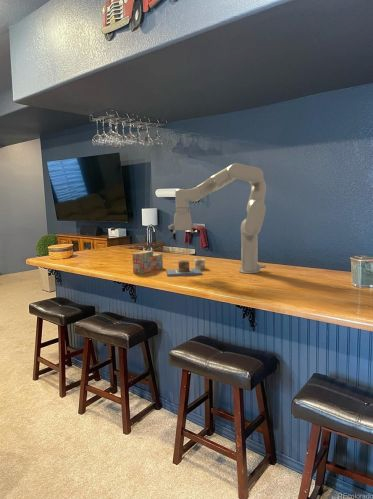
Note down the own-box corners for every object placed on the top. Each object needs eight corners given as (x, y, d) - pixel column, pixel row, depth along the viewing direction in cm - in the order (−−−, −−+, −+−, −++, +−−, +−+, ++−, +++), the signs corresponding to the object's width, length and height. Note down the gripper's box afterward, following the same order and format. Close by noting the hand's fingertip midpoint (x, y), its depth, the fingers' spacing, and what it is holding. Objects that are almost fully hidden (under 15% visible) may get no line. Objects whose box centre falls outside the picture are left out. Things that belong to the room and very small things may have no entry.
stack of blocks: (155, 267, 244) (154, 248, 242) (163, 268, 240) (162, 249, 239) (133, 273, 226) (132, 253, 225) (140, 274, 223) (140, 253, 221)
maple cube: (203, 267, 238) (203, 258, 237) (205, 269, 232) (204, 260, 231) (194, 268, 237) (194, 258, 237) (195, 270, 231) (195, 260, 231)
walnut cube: (188, 270, 225) (188, 260, 224) (189, 272, 219) (189, 261, 218) (178, 270, 224) (178, 260, 224) (179, 272, 218) (178, 262, 218)
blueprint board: (199, 270, 230) (198, 268, 229) (202, 274, 216) (202, 272, 216) (166, 271, 228) (166, 269, 228) (167, 276, 214) (167, 274, 214)
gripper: (196, 209, 221) (197, 238, 224) (167, 210, 220) (168, 239, 222) (197, 210, 214) (198, 240, 216) (167, 211, 212) (168, 241, 215)
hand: (183, 239), depth 219 cm, fingers open, 9 cm apart
